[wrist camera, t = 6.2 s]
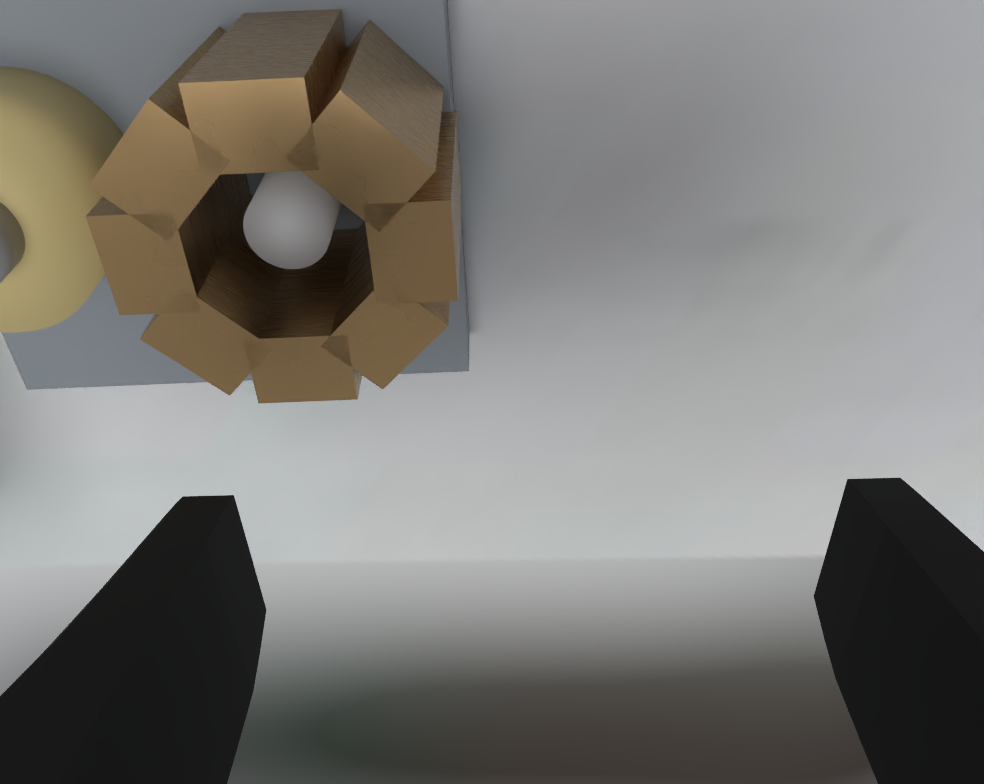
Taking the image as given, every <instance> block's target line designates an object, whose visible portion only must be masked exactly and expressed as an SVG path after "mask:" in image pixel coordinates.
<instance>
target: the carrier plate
mask: <svg viewBox="0 0 984 784" xmlns="http://www.w3.org/2000/svg"><path fill="white" fill-rule="evenodd" d="M324 9H342V14H343V22H344V29H345V37H346V44H347V47H348V46H349V45H350V44H351V42H352V41H353V40H354V39H355V37H356V36H357V35H358V33H359V32H360V31H361V30H362V28H363V27H364V26H365V25H366V23H367V22H368V21H369V19H370V20H371V21H372V22H373V23H375V24H376V25H377V26H378V27H379V28H380V29H381V30H382V31H383V32H384V33H386V34H387V35H388V36H389V37H390V38H391V39H392V40H393V41H394V42H395V43H397V44H398V45H399V46H400V47H401V48H402V49H403V50H404V51H405V52H407V53H408V54H409V55H410V56H411V57H412V58H413V59H414V60H415V61H416V62H418V63H419V64H420V65H421V66H422V67H423V68H424V69H425V70H426V71H428V72H429V73H430V74H431V75H432V76H433V77H434V78H435V79H436V80H437V81H439V82H440V83H441V84H442V85H443V86H444V93H443V103H442V112H453V111H454V98H453V83H452V68H451V54H450V39H449V24H448V9H447V0H0V332H2V335H3V337H4V339H5V341H6V343H7V346H8V348H9V350H10V352H11V355H12V357H13V359H14V361H15V364H16V366H17V368H18V370H19V373H20V375H21V377H22V379H23V381H24V384H25V386H26V388H27V389H51V388H75V387H99V386H123V385H147V384H170V383H194V382H207V381H206V380H204V379H203V378H201V377H199V376H198V375H196V374H195V373H193V372H191V371H190V370H188V369H187V368H185V367H183V366H182V365H180V364H179V363H177V362H175V361H174V360H172V359H171V358H169V357H167V356H166V355H164V354H163V353H161V352H160V351H158V350H156V349H155V348H153V347H152V346H150V345H148V344H147V343H145V342H144V341H142V340H140V338H141V336H142V334H143V333H144V331H145V329H146V327H147V326H148V324H149V322H150V321H151V319H152V317H153V315H154V314H139V315H119V312H118V309H117V306H116V303H115V300H114V297H113V294H112V291H111V289H110V286H109V283H108V280H107V277H106V274H105V271H104V268H103V265H102V263H101V260H100V257H99V254H98V251H97V248H96V245H95V242H94V239H93V236H92V234H91V231H90V228H89V225H88V222H87V219H86V215H87V214H88V213H89V212H90V211H91V210H92V208H93V207H94V206H95V205H96V204H97V203H98V201H99V200H100V199H101V198H102V197H103V196H102V195H100V194H99V193H97V192H96V191H94V190H93V189H91V188H90V187H89V185H90V183H91V182H92V181H93V179H94V178H95V176H96V175H97V173H98V172H99V170H100V169H101V167H102V166H103V164H104V163H105V161H106V160H107V158H108V157H109V156H110V154H111V153H112V151H113V150H114V148H115V147H116V145H117V144H118V142H119V141H120V139H121V138H122V136H123V135H124V134H125V132H126V131H127V129H128V128H129V126H130V125H131V123H132V122H133V120H134V119H135V117H136V116H137V114H138V113H139V112H140V110H141V109H142V107H143V106H144V104H145V103H146V101H147V100H148V98H149V97H150V96H151V95H152V94H153V93H154V92H155V91H156V90H157V89H158V88H159V87H160V86H161V85H162V84H163V83H164V82H165V81H166V80H167V79H168V78H169V77H170V76H171V75H172V74H173V73H174V72H175V71H176V70H177V69H178V68H179V67H180V66H181V65H182V64H183V63H184V62H185V61H186V60H187V59H188V58H189V57H190V56H191V55H192V54H193V53H194V51H195V50H196V49H197V48H198V47H199V46H200V45H201V44H202V43H203V42H204V41H205V40H206V39H207V38H208V37H209V36H210V35H211V34H212V33H213V32H214V31H215V30H216V29H217V28H218V27H219V26H220V27H221V28H222V29H223V30H225V31H227V30H228V29H229V28H230V27H231V26H232V25H233V24H234V23H235V22H236V21H237V20H238V18H239V17H240V16H241V15H242V14H243V13H260V12H281V11H303V10H324ZM246 174H247V179H248V184H249V188H250V193H251V195H253V198H252V200H251V202H250V204H249V206H248V208H247V210H246V212H245V215H244V220H243V229H244V234H245V237H246V240H247V242H248V244H249V245H250V247H251V248H252V250H253V251H254V252H255V253H256V254H257V255H258V256H259V257H260V258H261V259H263V260H264V261H266V262H267V263H269V264H272V265H274V266H277V267H280V268H284V269H301V268H305V267H308V266H310V265H312V264H314V263H316V262H317V261H318V260H320V259H321V258H322V257H323V255H324V254H325V252H326V251H327V249H328V246H329V243H330V240H331V237H332V233H333V230H334V229H354V228H359V226H360V225H361V224H362V223H363V222H364V220H363V219H361V218H360V217H359V216H358V215H356V214H355V213H354V212H352V211H351V210H350V209H349V208H347V207H346V206H345V205H344V204H342V203H341V202H340V201H338V200H337V199H336V198H335V197H333V196H332V195H331V194H329V193H328V192H327V191H326V190H324V189H323V188H322V187H321V186H319V185H318V184H317V183H315V182H314V181H313V180H312V179H310V178H309V177H308V176H306V175H305V174H304V173H303V172H301V171H289V172H266V173H246ZM457 371H469V322H468V307H467V292H466V278H465V263H464V248H463V233H462V218H461V236H460V265H459V294H458V301H450V304H449V323H448V327H447V328H446V329H445V330H444V331H443V332H442V333H441V334H440V335H439V336H438V337H437V338H436V339H434V340H433V341H432V342H431V343H430V344H429V345H428V346H427V347H426V348H425V349H424V350H423V351H422V352H421V353H420V354H419V355H418V356H417V357H416V358H415V359H414V360H413V361H412V362H411V363H410V364H408V365H407V366H406V367H405V368H404V369H403V370H402V371H401V372H400V373H399V374H409V373H433V372H457ZM244 380H253V379H252V375H251V373H250V374H249V375H248V376H247V377H246V378H245V379H244Z"/></svg>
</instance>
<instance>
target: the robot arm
mask: <svg viewBox="0 0 984 784" xmlns="http://www.w3.org/2000/svg"><path fill="white" fill-rule="evenodd" d="M814 599H815V603H816V607H817V611H818V615H819V619H820V622H821V627H822V631H823V635H824V639H825V642H826V646H827V650H828V653H829V657H830V660H831V663H832V667H833V671H834V674H835V677H836V680H837V683H838V685H839V688H840V691H841V693H842V696H843V698H844V701H845V703H846V706H847V708H848V711H849V713H850V716H851V718H852V721H853V723H854V725H855V728H856V731H857V733H858V736H859V738H860V741H861V743H862V745H863V748H864V750H865V753H866V755H867V758H868V760H869V763H870V765H871V768H872V770H873V773H874V775H875V777H876V780H877V782H878V784H984V552H983V551H982V550H981V549H980V548H979V547H978V546H977V545H975V544H974V543H973V542H972V541H971V540H970V539H969V538H968V537H967V536H965V535H964V534H963V533H962V532H961V531H960V530H959V529H958V528H957V527H955V526H954V525H953V524H952V523H951V522H950V521H949V520H948V519H947V518H945V517H944V516H943V515H942V514H941V513H940V512H939V511H938V510H937V509H935V508H934V507H933V506H932V505H931V504H930V503H929V502H928V501H926V500H925V499H924V498H923V497H922V496H921V495H920V494H919V493H917V492H916V491H915V490H914V489H913V488H912V487H910V486H909V485H908V484H907V483H906V482H905V481H903V480H902V479H901V478H874V479H847V483H846V486H845V490H844V493H843V497H842V500H841V504H840V507H839V511H838V514H837V517H836V521H835V524H834V528H833V531H832V535H831V538H830V542H829V545H828V549H827V552H826V556H825V559H824V563H823V566H822V570H821V573H820V576H819V580H818V583H817V587H816V591H815V594H814ZM265 615H266V607H265V603H264V601H263V597H262V593H261V589H260V586H259V582H258V579H257V575H256V573H255V569H254V565H253V561H252V558H251V554H250V551H249V547H248V544H247V540H246V537H245V533H244V530H243V526H242V523H241V519H240V516H239V512H238V509H237V505H236V502H235V498H234V495H228V496H190V497H182V498H181V499H180V500H179V501H178V502H177V503H176V504H175V505H174V506H173V507H172V509H171V510H170V511H169V512H168V513H167V514H166V515H165V516H164V517H163V519H162V520H161V521H160V522H159V523H158V524H157V525H156V527H155V528H154V529H153V530H152V531H151V532H150V534H149V535H148V536H147V537H146V538H145V539H144V541H143V542H142V543H141V544H140V545H139V546H138V547H137V549H136V550H135V551H134V552H133V553H132V554H131V556H130V557H129V558H128V559H127V560H126V561H125V562H124V564H123V565H122V566H121V567H120V568H119V569H118V570H117V572H116V573H115V574H114V575H113V576H112V577H111V578H110V580H109V581H108V582H107V583H106V584H105V585H104V586H103V588H102V589H101V590H100V591H99V592H98V593H97V594H96V596H94V598H93V599H92V600H91V601H90V602H89V603H88V604H87V605H86V606H85V607H84V609H83V610H82V611H81V612H80V613H79V614H78V615H77V616H76V617H75V619H74V620H73V621H72V622H71V623H70V624H69V625H68V626H67V627H66V628H65V630H63V632H62V633H61V634H60V635H59V636H58V637H57V638H56V639H55V640H54V642H53V643H52V644H51V645H50V646H49V647H48V648H47V649H46V650H45V651H44V652H43V653H42V654H41V655H40V656H39V657H38V658H37V660H35V661H34V663H33V664H32V665H31V666H30V667H29V668H28V669H27V670H26V671H25V672H24V673H23V674H22V675H21V676H20V677H19V678H18V679H17V680H16V681H15V682H14V683H13V684H12V685H11V686H10V687H9V688H8V689H7V690H6V691H5V692H4V693H3V694H2V695H1V696H0V784H227V782H228V778H229V775H230V771H231V767H232V764H233V761H234V757H235V754H236V750H237V747H238V743H239V740H240V736H241V733H242V729H243V726H244V722H245V719H246V715H247V711H248V708H249V704H250V700H251V697H252V693H253V689H254V683H255V677H256V672H257V666H258V660H259V655H260V648H261V641H262V635H263V628H264V621H265Z"/></svg>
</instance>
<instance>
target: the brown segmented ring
mask: <svg viewBox="0 0 984 784" xmlns="http://www.w3.org/2000/svg"><path fill="white" fill-rule="evenodd" d="M443 93H444V86H443V85H442V84H441V83H440V82H439V81H437V80H436V79H435V78H434V77H433V76H432V75H431V74H430V73H429V72H428V71H426V70H425V69H424V68H423V67H422V66H421V65H420V64H419V63H418V62H416V61H415V60H414V59H413V58H412V57H411V56H410V55H409V54H408V53H407V52H405V51H404V50H403V49H402V48H401V47H400V46H399V45H398V44H397V43H395V42H394V41H393V40H392V39H391V38H390V37H389V36H388V35H387V34H386V33H384V32H383V31H382V30H381V29H380V28H379V27H378V26H377V25H376V24H375V23H373V22H372V21H371V20H370V19H369V21H368V22H367V23H366V25H365V26H364V27H363V28H362V30H361V31H360V32H359V33H358V35H357V36H356V37H355V39H354V40H353V41H352V42H351V44H350V45H349V46H348V47H347V44H346V37H345V29H344V22H343V14H342V9H324V10H303V11H281V12H260V13H243V14H242V15H241V16H240V17H239V18H238V20H237V21H236V22H235V23H234V24H233V25H232V26H231V27H230V28H229V29H228V30H227V31H225V30H223V29H222V28H221V27H220V26H219V27H218V28H217V29H216V30H215V31H214V32H213V33H212V34H211V35H210V36H209V37H208V38H207V39H206V40H205V41H204V42H203V43H202V44H201V45H200V46H199V47H198V48H197V49H196V50H195V51H194V53H193V54H192V55H191V56H190V57H189V58H188V59H187V60H186V61H185V62H184V63H183V64H182V65H181V66H180V67H179V68H178V69H177V70H176V71H175V72H174V73H173V74H172V75H171V76H170V77H169V78H168V79H167V80H166V81H165V82H164V83H163V84H162V85H161V86H160V87H159V88H158V89H157V90H156V91H155V92H154V93H153V94H152V95H151V96H150V97H149V98H148V100H147V101H146V103H145V104H144V106H143V107H142V109H141V110H140V112H139V113H138V114H137V116H136V117H135V119H134V120H133V122H132V123H131V125H130V126H129V128H128V129H127V131H126V132H125V134H124V135H123V136H122V138H121V139H120V141H119V142H118V144H117V145H116V147H115V148H114V150H113V151H112V153H111V154H110V156H109V157H108V158H107V160H106V161H105V163H104V164H103V166H102V167H101V169H100V170H99V172H98V173H97V175H96V176H95V178H94V179H93V181H92V182H91V183H90V185H89V187H90V188H91V189H93V190H94V191H96V192H97V193H99V194H100V195H102V196H103V197H102V198H101V199H100V200H99V201H98V203H97V204H96V205H95V206H94V207H93V208H92V210H91V211H90V212H89V213H88V214H87V215H86V219H87V222H88V225H89V228H90V231H91V234H92V236H93V239H94V242H95V245H96V248H97V251H98V254H99V257H100V260H101V263H102V265H103V268H104V271H105V274H106V277H107V280H108V283H109V286H110V289H111V291H112V294H113V297H114V300H115V303H116V306H117V309H118V312H119V315H139V314H154V315H153V317H152V319H151V321H150V322H149V324H148V326H147V327H146V329H145V331H144V333H143V334H142V336H141V338H140V340H142V341H144V342H145V343H147V344H148V345H150V346H152V347H153V348H155V349H156V350H158V351H160V352H161V353H163V354H164V355H166V356H167V357H169V358H171V359H172V360H174V361H175V362H177V363H179V364H180V365H182V366H183V367H185V368H187V369H188V370H190V371H191V372H193V373H195V374H196V375H198V376H199V377H201V378H203V379H204V380H206V381H207V382H209V383H211V384H212V385H214V386H215V387H217V388H219V389H220V390H222V391H223V392H225V393H227V394H228V395H231V394H232V392H233V391H234V390H235V389H236V388H237V387H238V386H239V385H240V384H241V383H242V382H243V380H244V379H245V378H246V377H247V376H248V375H249V374H250V373H251V375H252V379H253V383H254V387H255V391H256V395H257V399H258V403H277V402H302V401H326V400H351V399H358V393H359V388H360V383H361V377H362V375H363V376H364V377H366V378H367V379H369V380H370V381H372V382H373V383H374V384H376V385H377V386H379V387H380V388H382V389H384V388H385V387H386V386H387V385H388V384H389V383H390V382H391V381H392V380H393V379H394V378H395V377H396V376H397V375H398V374H399V373H400V372H401V371H402V370H403V369H404V368H405V367H406V366H407V365H408V364H410V363H411V362H412V361H413V360H414V359H415V358H416V357H417V356H418V355H419V354H420V353H421V352H422V351H423V350H424V349H425V348H426V347H427V346H428V345H429V344H430V343H431V342H432V341H433V340H434V339H436V338H437V337H438V336H439V335H440V334H441V333H442V332H443V331H444V330H445V329H446V328H447V327H448V323H449V304H450V301H458V294H459V265H460V236H461V206H462V193H461V178H460V163H459V147H458V132H457V116H456V111H453V112H442V103H443ZM289 171H301V172H303V173H304V174H305V175H306V176H308V177H309V178H310V179H312V180H313V181H314V182H315V183H317V184H318V185H319V186H321V187H322V188H323V189H324V190H326V191H327V192H328V193H329V194H331V195H332V196H333V197H335V198H336V199H337V200H338V201H340V202H341V203H342V204H344V205H345V206H346V207H347V208H349V209H350V210H351V211H352V212H354V213H355V214H356V215H358V216H359V217H360V218H361V219H363V220H364V222H363V223H362V224H361V225H360V226H359V228H354V229H334V230H333V233H332V237H331V240H330V243H329V246H328V249H327V251H326V252H325V254H324V255H323V257H322V258H321V259H320V260H318V261H317V262H316V263H314V264H312V265H310V266H308V267H305V268H301V269H284V268H280V267H277V266H274V265H272V264H269V263H267V262H266V261H264V260H263V259H261V258H260V257H259V256H258V255H257V254H256V253H255V252H254V251H253V250H252V248H251V247H250V245H249V244H248V242H247V240H246V237H245V234H244V229H243V220H244V215H245V212H246V210H247V208H248V206H249V204H250V202H251V200H252V198H253V195H251V193H250V188H249V184H248V179H247V174H246V173H266V172H289Z"/></svg>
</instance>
